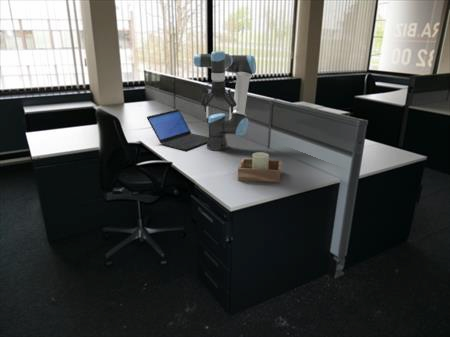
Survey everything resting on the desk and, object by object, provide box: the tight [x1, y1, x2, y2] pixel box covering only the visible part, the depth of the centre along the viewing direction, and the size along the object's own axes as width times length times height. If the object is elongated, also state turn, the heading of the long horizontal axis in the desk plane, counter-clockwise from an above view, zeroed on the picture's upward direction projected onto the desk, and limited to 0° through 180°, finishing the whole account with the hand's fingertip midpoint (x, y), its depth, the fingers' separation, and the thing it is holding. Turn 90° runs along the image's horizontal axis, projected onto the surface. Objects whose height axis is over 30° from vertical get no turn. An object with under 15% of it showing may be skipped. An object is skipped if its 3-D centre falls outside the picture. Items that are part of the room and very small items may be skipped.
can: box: [251, 151, 270, 170], centre depth 192 cm, size 9×9×12 cm
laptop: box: [146, 109, 209, 152], centre depth 255 cm, size 33×38×19 cm
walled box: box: [237, 157, 282, 184], centre depth 193 cm, size 16×22×7 cm
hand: (218, 117), depth 202 cm, fingers open, 13 cm apart
